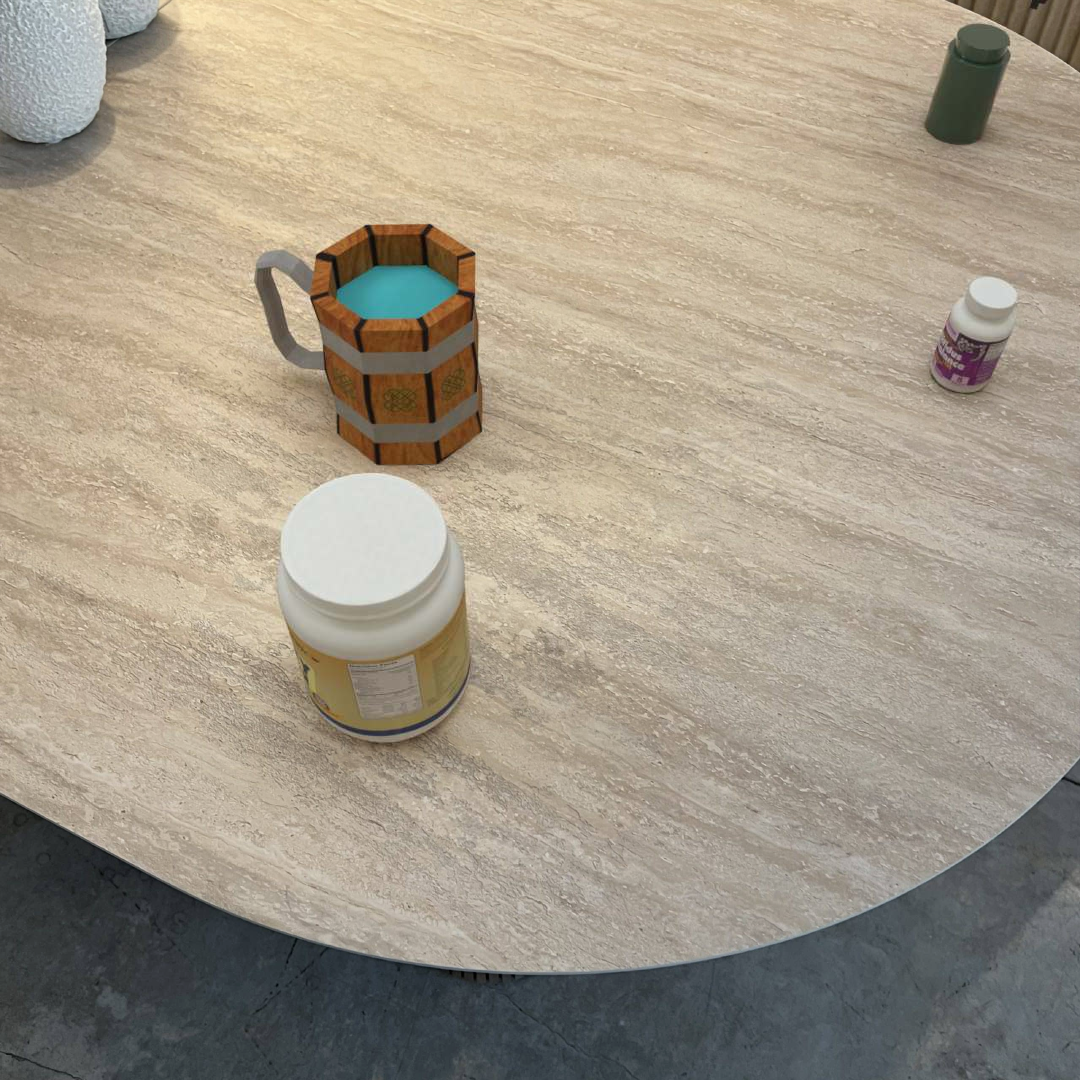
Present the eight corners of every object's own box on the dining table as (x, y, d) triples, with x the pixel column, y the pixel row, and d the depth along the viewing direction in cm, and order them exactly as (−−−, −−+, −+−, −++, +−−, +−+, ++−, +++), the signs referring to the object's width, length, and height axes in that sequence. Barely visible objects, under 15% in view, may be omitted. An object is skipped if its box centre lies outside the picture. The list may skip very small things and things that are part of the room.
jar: (977, 111, 129) (1008, 20, 120) (988, 145, 125) (1022, 53, 116) (920, 110, 129) (947, 19, 120) (929, 143, 125) (958, 52, 116)
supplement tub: (298, 621, 87) (256, 476, 73) (456, 592, 89) (442, 445, 75) (316, 765, 80) (273, 634, 66) (487, 730, 81) (479, 596, 68)
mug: (511, 379, 103) (508, 243, 91) (450, 487, 95) (439, 354, 83) (315, 324, 107) (288, 188, 95) (242, 424, 99) (203, 288, 87)
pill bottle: (916, 371, 104) (947, 288, 96) (953, 345, 106) (986, 261, 98) (964, 404, 101) (1000, 322, 93) (1001, 377, 103) (1039, 294, 96)
